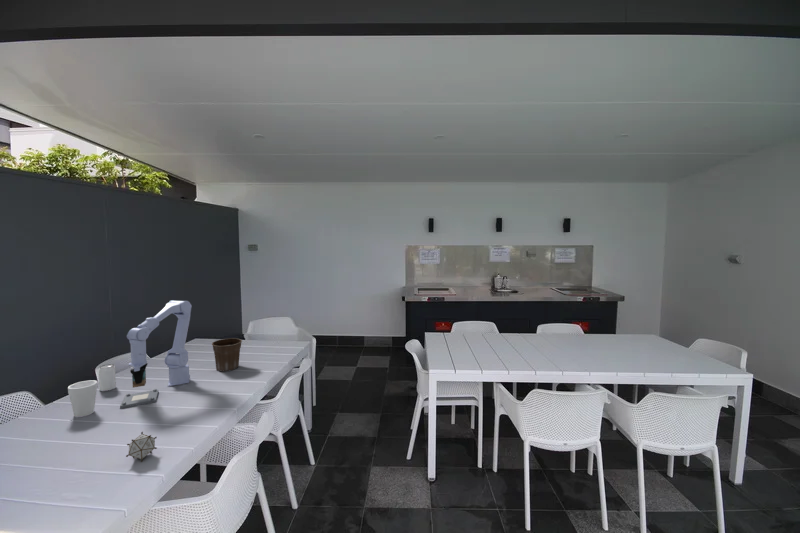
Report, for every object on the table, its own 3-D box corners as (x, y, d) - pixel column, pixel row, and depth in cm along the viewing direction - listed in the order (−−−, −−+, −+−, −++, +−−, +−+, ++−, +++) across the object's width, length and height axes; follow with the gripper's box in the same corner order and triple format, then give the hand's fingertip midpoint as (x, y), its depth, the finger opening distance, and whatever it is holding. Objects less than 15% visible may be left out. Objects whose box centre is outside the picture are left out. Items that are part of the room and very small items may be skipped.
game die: (140, 466, 118) (140, 435, 122) (163, 456, 118) (163, 426, 123) (118, 468, 110) (119, 435, 114) (143, 458, 110) (143, 426, 115)
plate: (158, 391, 169) (158, 388, 169) (155, 401, 158) (155, 398, 158) (125, 397, 163) (125, 393, 162) (120, 408, 151) (119, 404, 151)
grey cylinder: (106, 392, 168) (105, 368, 168) (95, 391, 170) (94, 367, 169) (119, 387, 175) (118, 364, 174) (109, 385, 176) (108, 363, 175)
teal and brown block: (146, 382, 163) (145, 370, 163) (144, 385, 159) (144, 373, 159) (134, 384, 161) (133, 371, 160) (132, 387, 157) (132, 375, 156)
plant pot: (244, 369, 201) (244, 342, 200) (214, 375, 192) (213, 347, 191) (240, 361, 214) (239, 336, 213) (211, 366, 205) (210, 340, 204)
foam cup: (103, 410, 150) (102, 381, 149) (78, 420, 141) (76, 390, 140) (89, 407, 153) (88, 379, 152) (64, 416, 144) (62, 387, 143)
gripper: (130, 350, 163) (131, 377, 164) (125, 359, 151) (126, 388, 152) (148, 348, 167) (149, 375, 168) (144, 356, 155) (145, 385, 155)
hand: (139, 381), depth 160 cm, fingers closed on teal and brown block, 4 cm apart
